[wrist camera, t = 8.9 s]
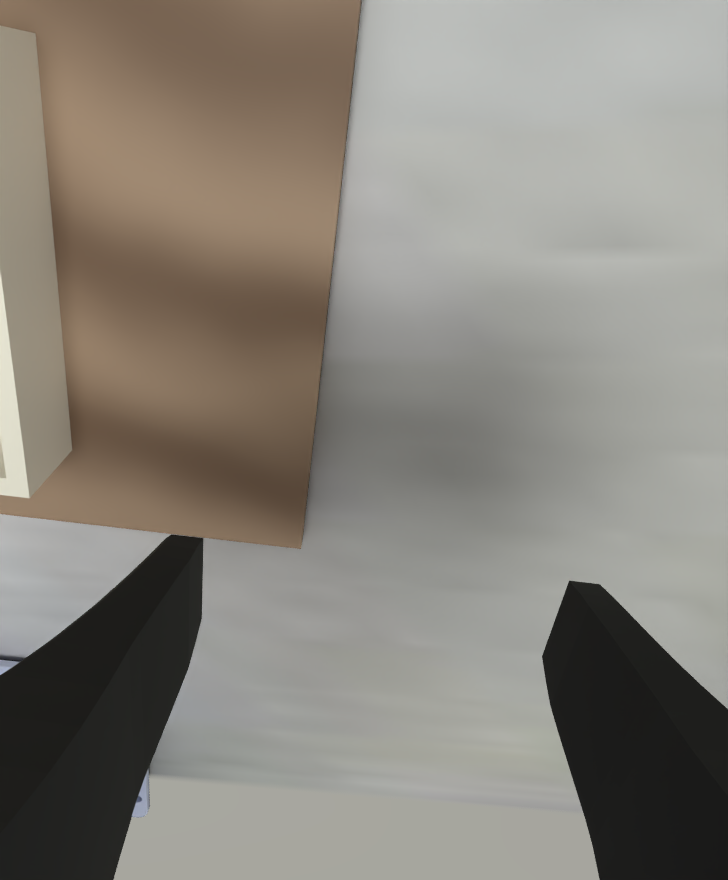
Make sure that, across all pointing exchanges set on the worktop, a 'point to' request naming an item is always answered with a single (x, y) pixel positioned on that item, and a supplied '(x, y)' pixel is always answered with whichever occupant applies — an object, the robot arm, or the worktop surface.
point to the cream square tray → (27, 283)
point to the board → (191, 253)
